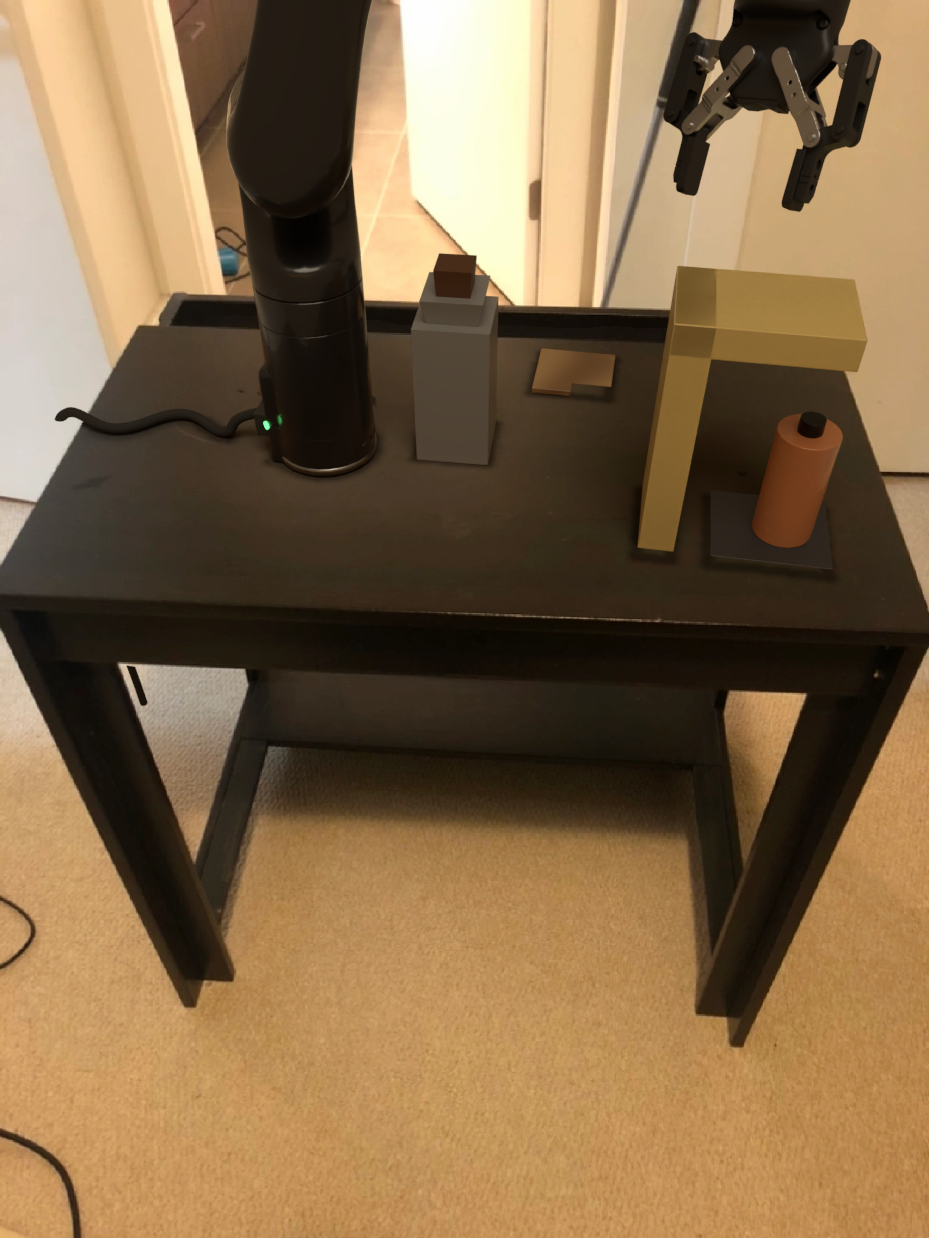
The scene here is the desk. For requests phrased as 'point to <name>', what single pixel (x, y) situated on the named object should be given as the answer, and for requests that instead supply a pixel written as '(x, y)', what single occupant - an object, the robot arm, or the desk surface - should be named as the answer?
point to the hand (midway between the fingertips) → (736, 201)
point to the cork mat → (571, 371)
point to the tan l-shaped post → (743, 332)
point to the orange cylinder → (796, 479)
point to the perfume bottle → (455, 363)
